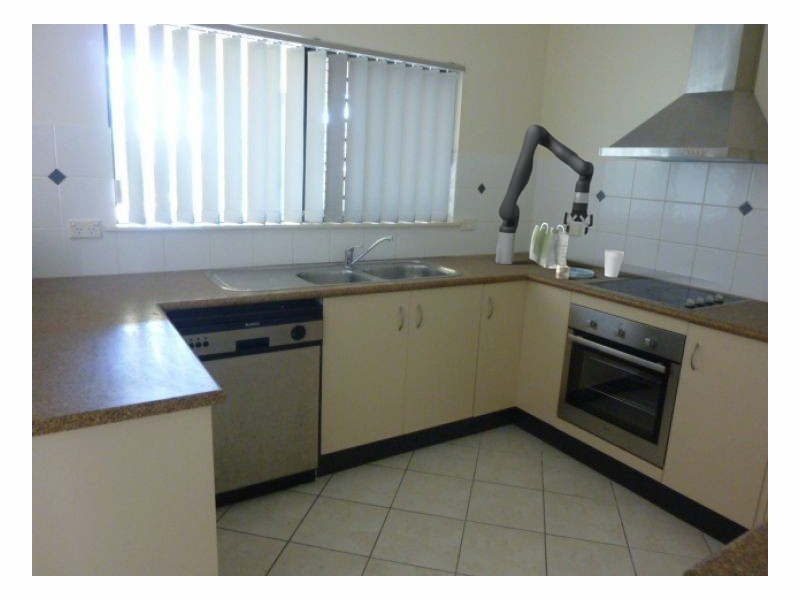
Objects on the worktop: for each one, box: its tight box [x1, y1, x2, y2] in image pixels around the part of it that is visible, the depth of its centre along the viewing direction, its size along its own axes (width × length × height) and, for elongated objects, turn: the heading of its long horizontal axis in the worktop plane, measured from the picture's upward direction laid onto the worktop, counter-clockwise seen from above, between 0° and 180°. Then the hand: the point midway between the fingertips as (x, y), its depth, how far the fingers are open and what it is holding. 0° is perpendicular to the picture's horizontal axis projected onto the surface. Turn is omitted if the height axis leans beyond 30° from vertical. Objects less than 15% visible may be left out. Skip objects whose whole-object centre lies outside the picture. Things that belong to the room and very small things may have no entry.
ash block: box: [555, 265, 571, 280], centre depth 281 cm, size 5×5×6 cm
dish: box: [569, 267, 595, 279], centre depth 292 cm, size 16×16×2 cm
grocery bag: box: [528, 222, 570, 269], centre depth 321 cm, size 32×14×23 cm, turn 4°
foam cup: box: [604, 249, 625, 278], centre depth 294 cm, size 10×9×13 cm
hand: (576, 233), depth 290 cm, fingers open, 8 cm apart
